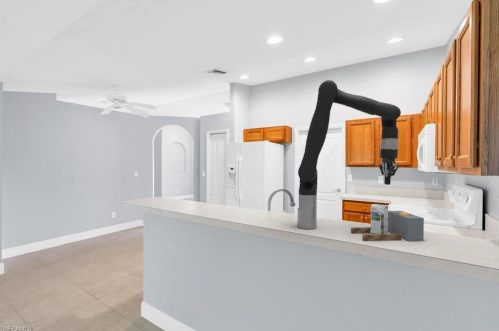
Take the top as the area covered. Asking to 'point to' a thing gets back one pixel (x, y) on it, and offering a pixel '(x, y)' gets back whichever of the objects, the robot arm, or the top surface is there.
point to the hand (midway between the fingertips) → (387, 184)
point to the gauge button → (403, 213)
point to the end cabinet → (406, 226)
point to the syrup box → (379, 219)
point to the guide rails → (374, 235)
